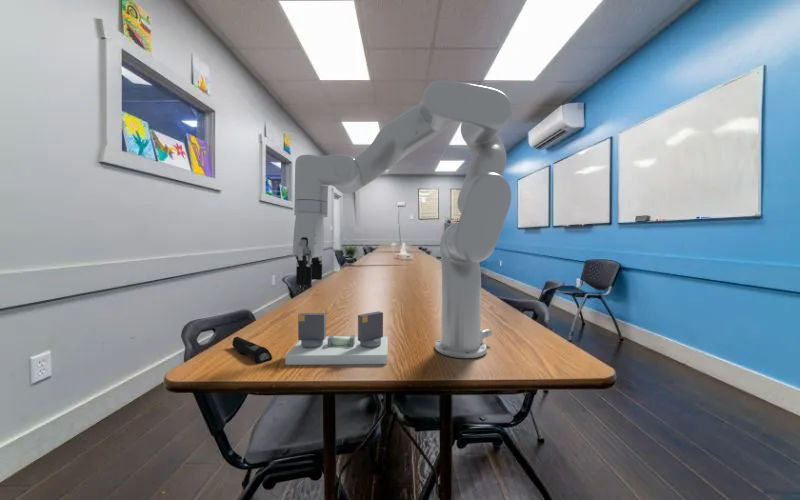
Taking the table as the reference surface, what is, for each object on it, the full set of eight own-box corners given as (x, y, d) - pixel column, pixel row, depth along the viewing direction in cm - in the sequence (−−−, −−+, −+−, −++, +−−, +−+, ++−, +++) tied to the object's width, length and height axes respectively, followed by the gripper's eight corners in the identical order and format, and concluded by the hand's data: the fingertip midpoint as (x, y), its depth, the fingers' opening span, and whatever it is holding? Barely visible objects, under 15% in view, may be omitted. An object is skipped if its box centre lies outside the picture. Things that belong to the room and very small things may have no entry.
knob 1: (327, 340, 73) (327, 311, 73) (322, 347, 68) (322, 316, 68) (302, 340, 73) (302, 311, 73) (296, 347, 68) (296, 316, 68)
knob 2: (374, 338, 75) (375, 310, 75) (386, 343, 71) (386, 313, 71) (354, 343, 71) (354, 313, 71) (365, 349, 67) (365, 317, 67)
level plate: (387, 343, 78) (387, 328, 78) (386, 364, 65) (386, 345, 65) (303, 344, 77) (303, 328, 77) (285, 364, 64) (285, 346, 64)
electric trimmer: (244, 346, 77) (244, 334, 77) (273, 360, 67) (273, 346, 67) (228, 350, 74) (228, 337, 74) (256, 366, 64) (256, 351, 64)
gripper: (305, 213, 78) (304, 277, 79) (281, 204, 61) (280, 287, 62) (334, 213, 79) (333, 278, 79) (318, 205, 61) (316, 287, 62)
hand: (310, 282), depth 70 cm, fingers open, 9 cm apart
